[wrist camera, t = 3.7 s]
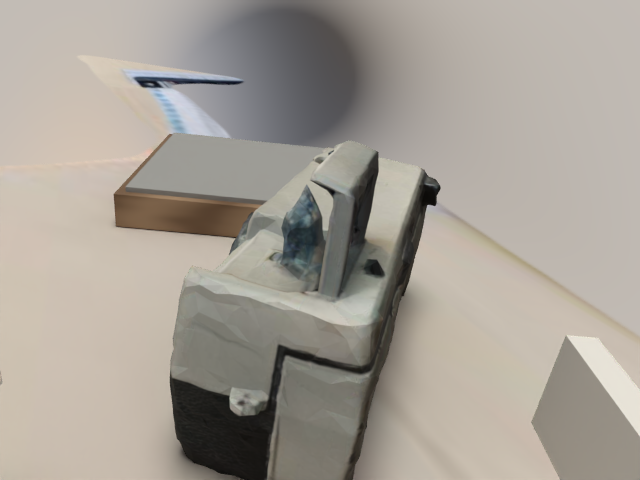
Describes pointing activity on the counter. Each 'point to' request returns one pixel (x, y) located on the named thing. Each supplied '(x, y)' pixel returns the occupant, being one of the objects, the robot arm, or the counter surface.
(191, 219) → the walnut stand
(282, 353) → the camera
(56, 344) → the counter surface
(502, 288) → the counter surface
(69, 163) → the counter surface
